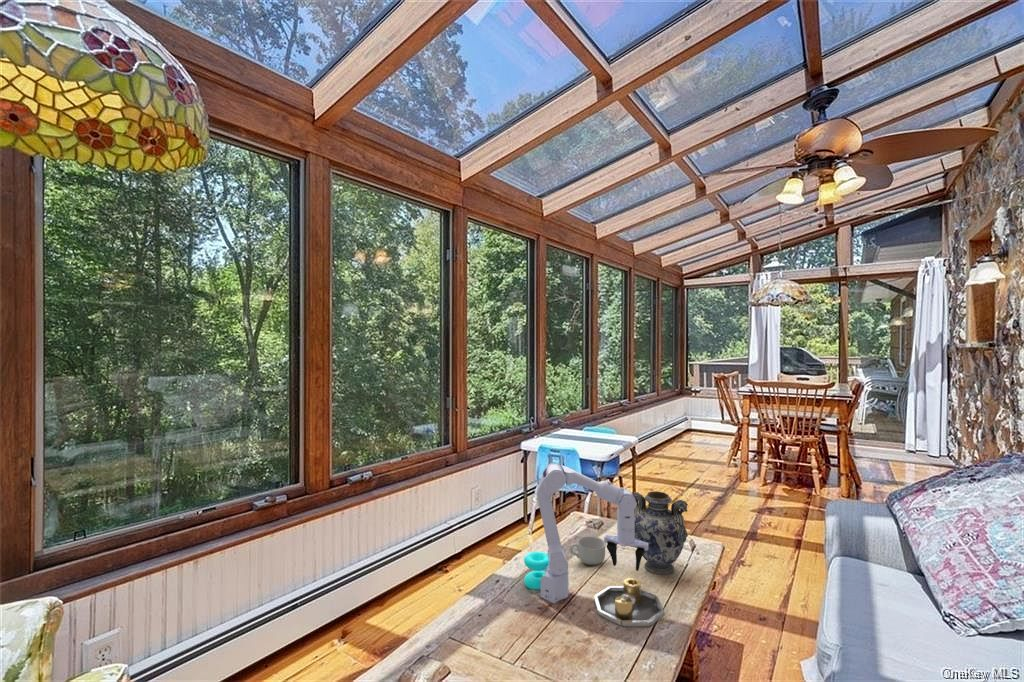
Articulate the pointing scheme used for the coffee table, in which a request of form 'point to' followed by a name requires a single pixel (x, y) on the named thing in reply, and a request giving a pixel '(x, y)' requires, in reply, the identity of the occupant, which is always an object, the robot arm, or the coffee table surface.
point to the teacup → (590, 550)
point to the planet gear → (633, 588)
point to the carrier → (628, 607)
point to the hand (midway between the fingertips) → (626, 567)
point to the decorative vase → (660, 530)
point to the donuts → (535, 568)
